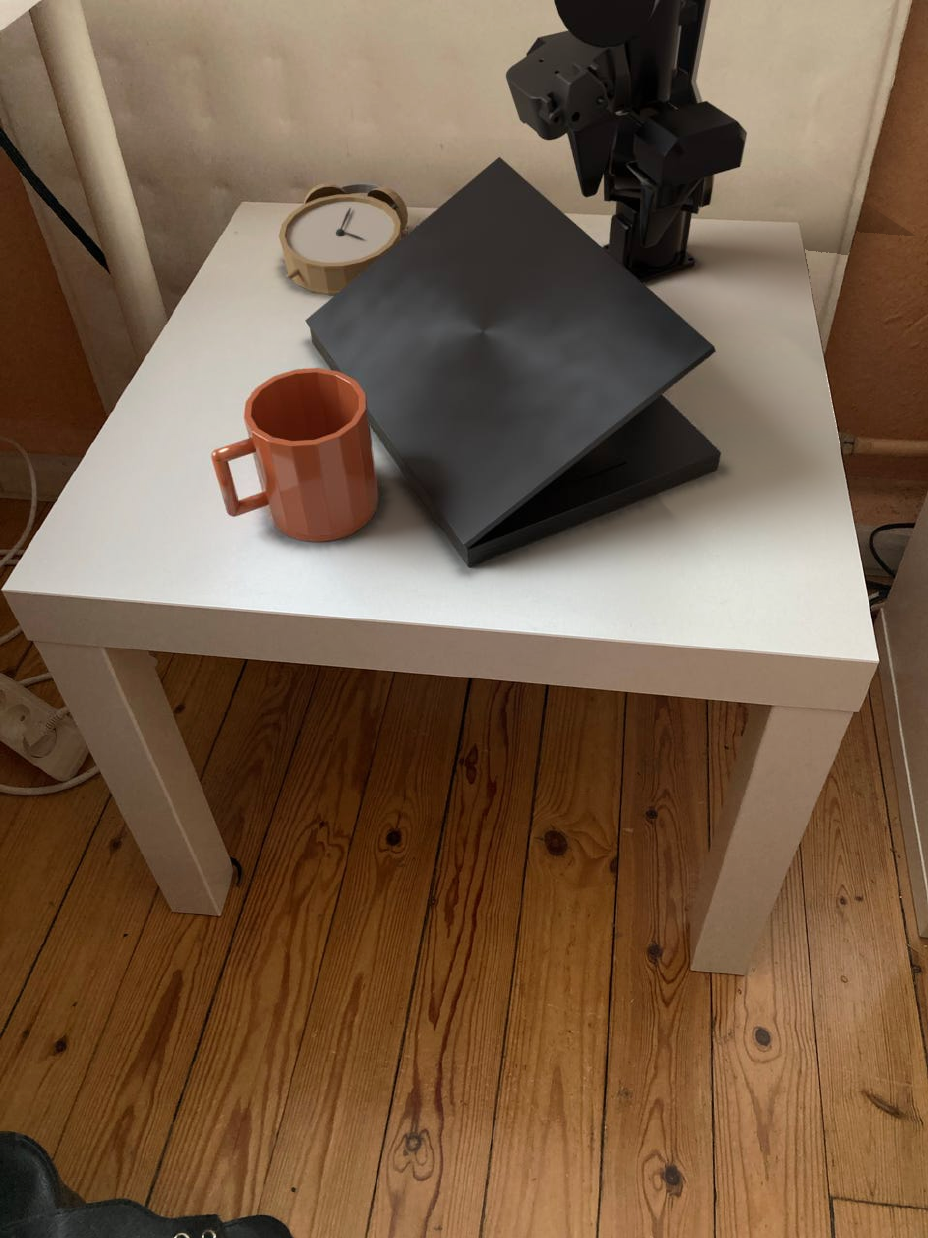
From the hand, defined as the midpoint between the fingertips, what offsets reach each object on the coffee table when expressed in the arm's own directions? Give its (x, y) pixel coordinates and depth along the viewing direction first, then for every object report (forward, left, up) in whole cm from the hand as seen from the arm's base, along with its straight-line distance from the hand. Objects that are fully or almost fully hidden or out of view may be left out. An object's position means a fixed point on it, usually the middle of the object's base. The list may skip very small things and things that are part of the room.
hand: (618, 219), depth 75 cm
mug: (+28, +4, -13) cm, 31 cm away
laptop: (+10, 0, -13) cm, 16 cm away
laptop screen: (+11, 0, -6) cm, 13 cm away
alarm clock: (+12, -27, -13) cm, 32 cm away
